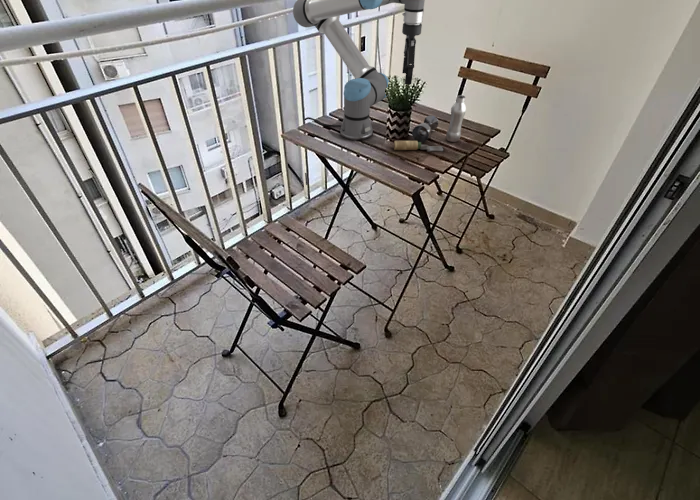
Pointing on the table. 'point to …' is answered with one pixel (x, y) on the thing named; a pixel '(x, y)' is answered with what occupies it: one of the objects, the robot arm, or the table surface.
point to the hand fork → (414, 146)
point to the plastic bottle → (456, 119)
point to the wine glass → (425, 129)
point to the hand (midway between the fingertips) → (406, 78)
